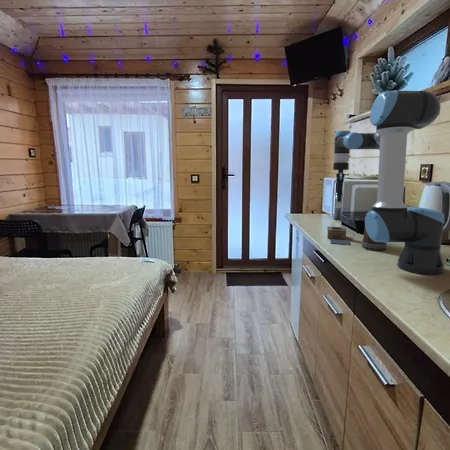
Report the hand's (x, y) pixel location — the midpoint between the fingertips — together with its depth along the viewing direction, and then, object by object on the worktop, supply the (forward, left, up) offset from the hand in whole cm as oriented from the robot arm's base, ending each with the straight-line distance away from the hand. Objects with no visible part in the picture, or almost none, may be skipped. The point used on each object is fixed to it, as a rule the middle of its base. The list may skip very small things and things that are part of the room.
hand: (338, 207), depth 170 cm
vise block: (0, 0, -16) cm, 16 cm away
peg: (0, 0, -7) cm, 7 cm away
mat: (-10, -1, -16) cm, 19 cm away
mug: (-15, -16, -17) cm, 27 cm away
